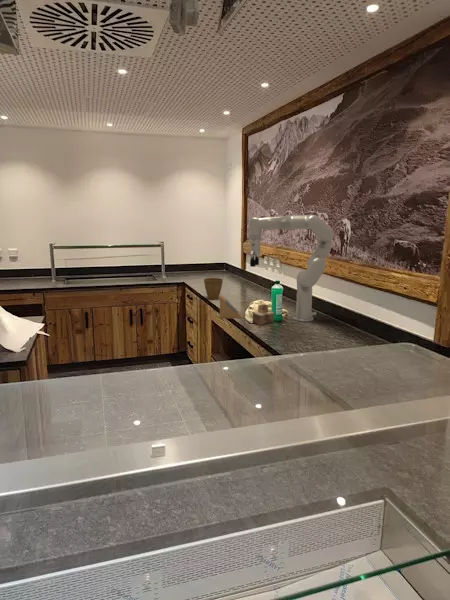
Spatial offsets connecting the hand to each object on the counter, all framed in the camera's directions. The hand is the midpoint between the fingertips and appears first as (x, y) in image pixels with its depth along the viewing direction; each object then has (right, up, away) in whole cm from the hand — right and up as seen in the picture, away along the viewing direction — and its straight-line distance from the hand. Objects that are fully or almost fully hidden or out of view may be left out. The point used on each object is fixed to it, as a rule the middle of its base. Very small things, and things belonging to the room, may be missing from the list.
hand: (254, 265), depth 260 cm
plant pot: (-27, -21, +73) cm, 81 cm away
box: (+5, -35, 0) cm, 36 cm away
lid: (+5, -30, -1) cm, 30 cm away
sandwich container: (-14, -33, +16) cm, 39 cm away
